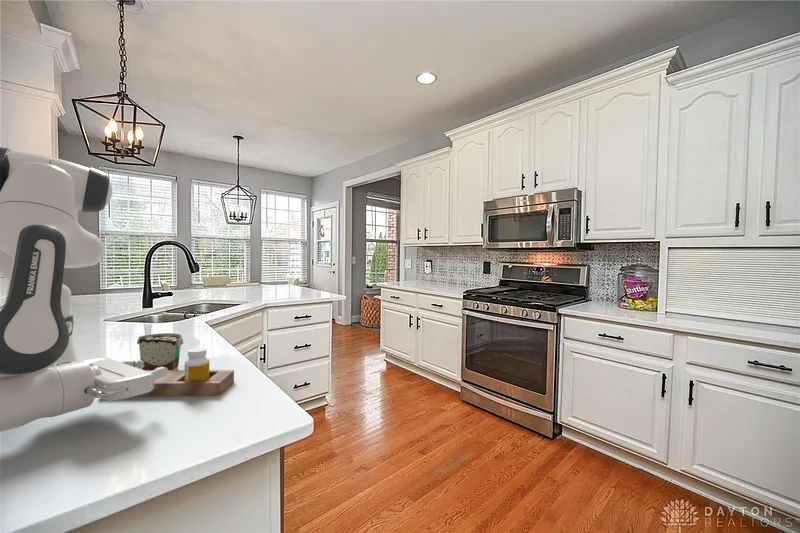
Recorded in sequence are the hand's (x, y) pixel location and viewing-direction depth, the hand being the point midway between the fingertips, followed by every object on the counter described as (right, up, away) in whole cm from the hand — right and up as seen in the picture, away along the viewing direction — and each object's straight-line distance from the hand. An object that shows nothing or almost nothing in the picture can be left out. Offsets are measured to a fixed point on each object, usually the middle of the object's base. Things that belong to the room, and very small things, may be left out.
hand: (153, 366), depth 79 cm
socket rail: (-1, -8, +9) cm, 12 cm away
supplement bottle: (+4, -8, +9) cm, 13 cm away
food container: (-12, -7, +22) cm, 26 cm away
